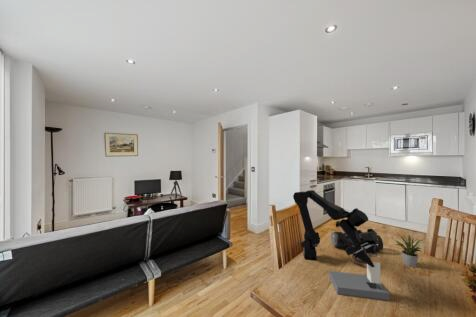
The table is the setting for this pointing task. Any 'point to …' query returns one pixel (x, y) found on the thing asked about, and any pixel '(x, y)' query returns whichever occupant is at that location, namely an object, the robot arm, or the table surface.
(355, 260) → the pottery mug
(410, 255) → the house plant
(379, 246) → the muzzle brake
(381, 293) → the socket block
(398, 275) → the table surface
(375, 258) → the plug
